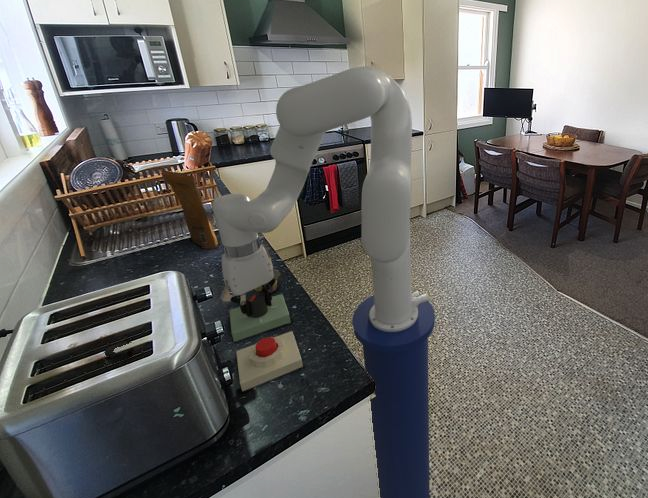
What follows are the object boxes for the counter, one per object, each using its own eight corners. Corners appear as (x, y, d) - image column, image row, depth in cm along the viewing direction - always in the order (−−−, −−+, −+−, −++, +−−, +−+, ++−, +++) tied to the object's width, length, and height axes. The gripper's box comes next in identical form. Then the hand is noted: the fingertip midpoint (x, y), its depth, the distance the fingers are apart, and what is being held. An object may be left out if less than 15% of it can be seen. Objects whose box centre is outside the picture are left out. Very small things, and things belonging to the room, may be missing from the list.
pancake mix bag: (205, 254, 120) (182, 178, 109) (181, 240, 130) (157, 168, 119) (225, 246, 125) (204, 172, 114) (200, 233, 135) (179, 163, 124)
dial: (253, 306, 90) (249, 290, 88) (270, 306, 90) (266, 289, 88) (246, 318, 86) (241, 301, 84) (264, 317, 86) (260, 300, 84)
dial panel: (283, 301, 96) (282, 293, 95) (290, 322, 88) (289, 314, 87) (231, 317, 90) (229, 309, 89) (234, 342, 82) (231, 333, 81)
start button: (275, 340, 78) (273, 334, 77) (278, 352, 74) (276, 346, 74) (256, 347, 76) (254, 341, 75) (258, 360, 73) (256, 353, 72)
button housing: (293, 337, 83) (290, 324, 82) (303, 366, 75) (300, 352, 74) (238, 358, 78) (234, 344, 76) (242, 391, 70) (237, 377, 68)
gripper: (269, 229, 89) (282, 287, 96) (196, 255, 77) (216, 319, 84) (284, 238, 84) (296, 299, 91) (208, 267, 73) (228, 334, 80)
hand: (257, 308), depth 88 cm, fingers closed on dial, 4 cm apart
